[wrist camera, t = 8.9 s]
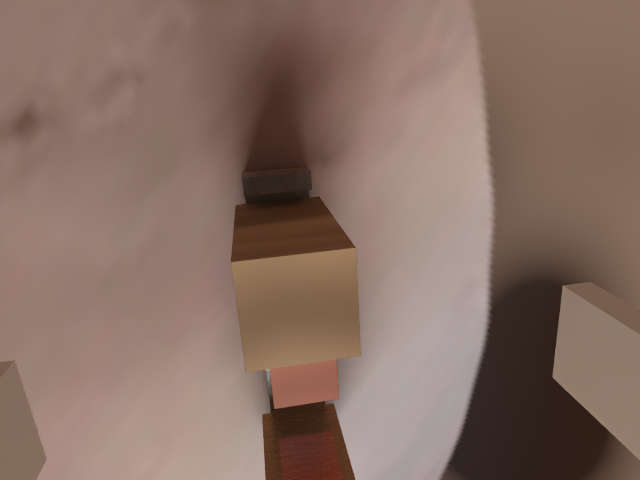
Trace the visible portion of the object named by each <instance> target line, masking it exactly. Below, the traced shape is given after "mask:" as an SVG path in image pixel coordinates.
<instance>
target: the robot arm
mask: <svg viewBox="0 0 640 480" xmlns="http://www.w3.org/2000/svg"><path fill="white" fill-rule="evenodd" d="M553 378H554V379H555V380H556V381H557V382H558V383H559V384H560V385H561V386H562V387H563V388H564V389H565V390H566V391H568V392H569V393H570V394H571V395H572V396H573V397H574V398H575V399H576V400H577V401H578V402H579V403H580V404H581V405H582V406H583V407H584V408H585V409H587V410H588V411H589V412H590V413H591V414H592V415H593V416H594V417H595V418H596V419H597V420H598V421H599V422H600V423H601V424H603V426H604V427H606V428H607V429H608V430H609V431H610V432H611V433H612V434H613V435H614V436H615V437H616V438H617V439H618V440H619V441H620V442H621V443H622V444H623V445H625V446H626V447H627V448H628V449H629V450H630V451H631V452H632V453H633V454H634V455H635V456H636V457H637V458H638V459H639V460H640V310H638V309H636V308H634V307H633V306H631V305H629V304H627V303H626V302H624V301H622V300H620V299H619V298H617V297H615V296H613V295H612V294H610V293H608V292H606V291H605V290H603V289H601V288H599V287H598V286H596V285H594V284H592V283H591V282H588V283H581V284H573V285H566V286H563V290H562V299H561V308H560V316H559V326H558V334H557V344H556V352H555V361H554V370H553ZM46 460H47V459H46V456H45V452H44V449H43V446H42V443H41V440H40V437H39V434H38V431H37V428H36V425H35V421H34V418H33V415H32V412H31V409H30V406H29V403H28V400H27V397H26V394H25V391H24V387H23V384H22V381H21V378H20V375H19V372H18V369H17V366H16V363H15V360H13V361H6V362H0V480H36V479H37V477H38V475H39V473H40V471H41V469H42V467H43V465H44V463H45V462H46Z"/></svg>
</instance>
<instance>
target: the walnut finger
mask: <svg viewBox="0 0 640 480" xmlns="http://www.w3.org/2000/svg"><path fill="white" fill-rule="evenodd" d="M231 266H232V274H233V281H234V288H235V296H236V303H237V310H238V318H239V325H240V332H241V340H242V347H243V355H244V362H245V369H246V372H252V371H259V370H266V369H270V376H271V384H272V393H273V401H274V409H277V408H284V407H290V406H296V405H303V404H309V403H316V402H322V401H329V400H335V399H339V391H338V376H337V361H336V359H342V358H349V357H356V356H361V347H360V326H359V305H358V285H357V264H356V247H355V246H354V245H353V243H352V242H351V240H350V239H349V238H348V236H347V235H346V234H345V232H344V231H343V229H342V228H341V227H340V225H339V224H338V222H337V221H336V220H335V218H334V217H333V215H332V214H331V213H330V211H329V210H328V208H327V207H326V206H325V204H324V203H323V201H322V200H321V199H320V197H311V198H301V199H291V200H281V201H271V202H261V203H251V204H242V205H236V209H235V221H234V232H233V244H232V256H231Z"/></svg>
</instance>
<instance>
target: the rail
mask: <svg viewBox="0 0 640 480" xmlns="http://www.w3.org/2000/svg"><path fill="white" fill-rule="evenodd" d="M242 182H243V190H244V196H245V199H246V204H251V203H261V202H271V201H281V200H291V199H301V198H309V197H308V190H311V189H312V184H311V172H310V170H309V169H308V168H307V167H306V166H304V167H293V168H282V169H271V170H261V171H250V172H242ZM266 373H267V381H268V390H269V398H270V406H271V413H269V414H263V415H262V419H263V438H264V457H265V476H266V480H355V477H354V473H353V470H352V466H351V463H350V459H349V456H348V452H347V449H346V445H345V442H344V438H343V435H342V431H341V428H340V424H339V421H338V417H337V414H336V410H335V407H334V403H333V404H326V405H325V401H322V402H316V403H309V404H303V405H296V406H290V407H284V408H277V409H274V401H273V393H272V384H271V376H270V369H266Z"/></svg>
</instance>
